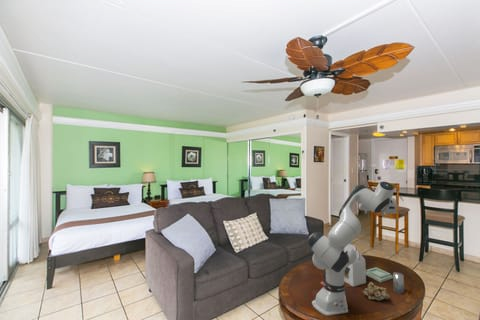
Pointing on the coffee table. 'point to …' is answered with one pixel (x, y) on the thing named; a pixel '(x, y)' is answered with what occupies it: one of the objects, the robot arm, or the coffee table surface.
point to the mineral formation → (375, 292)
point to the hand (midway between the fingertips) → (374, 213)
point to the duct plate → (378, 274)
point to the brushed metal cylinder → (398, 282)
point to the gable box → (356, 270)
